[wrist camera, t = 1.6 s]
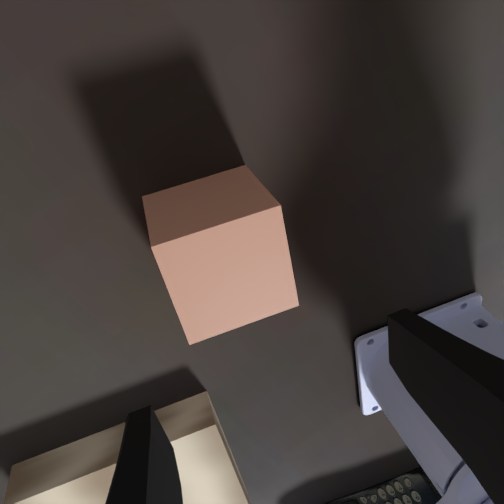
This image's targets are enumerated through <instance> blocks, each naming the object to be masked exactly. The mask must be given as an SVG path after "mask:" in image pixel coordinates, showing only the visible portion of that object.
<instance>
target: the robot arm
mask: <svg viewBox="0 0 504 504" xmlns="http://www.w3.org/2000/svg"><path fill="white" fill-rule="evenodd" d="M481 303H482V296H481V295H479V294H478V293H472V294H469V295H467V296H464V297H461V298H459V299H456V300H454V301H451V302H448V303H446V304H443V305H440V306H438V307H435V308H433V309H430V310H427V311H425V312H422V313H420V314H415V313H413V312H411V311H410V310H408V309H403V310H400V311H398V312H395V313H392V314H390V315H387V319H388V326H386V327H383V328H380V329H378V330H375V331H373V332H370V333H367V334H365V335H362V336H360V337H358V338H357V339H356V340H355V343H354V345H355V355H356V366H357V377H358V387H359V398H360V408H361V411H362V413H363V414H364V415H369V414H372V413H374V412H377V411H379V410H383V412H384V413H385V415H386V416H387V418H388V419H389V420H390V422H391V423H392V425H393V426H394V428H395V429H396V431H397V432H398V434H399V435H400V436H401V438H402V439H403V441H404V442H405V444H406V445H407V447H408V448H409V450H410V451H411V453H412V454H413V455H414V457H415V458H416V460H417V461H418V463H419V464H420V466H421V467H422V469H423V470H424V471H425V473H426V474H427V476H428V477H429V479H430V480H431V482H432V483H433V485H434V486H435V487H436V489H437V490H438V492H439V493H440V495H441V496H442V498H441V499H440V500H439V501H438V502H437V503H436V504H504V323H503V322H501V321H500V320H499V319H498V318H496V317H495V316H494V315H493V314H491V313H490V312H489V311H488V310H486V309H485V308H484V307H482V306H481ZM105 504H183V498H182V488H181V482H180V477H179V472H178V467H177V462H176V458H175V453H174V448H173V446H172V444H171V443H170V441H169V439H168V437H167V435H166V433H165V431H164V429H163V427H162V425H161V424H160V422H159V420H158V418H157V416H156V414H155V412H154V410H153V408H152V406H151V405H150V406H148V407H145V408H142V409H140V410H137V411H134V412H132V413H129V414H128V416H127V418H126V423H125V428H124V433H123V438H122V443H121V447H120V451H119V455H118V459H117V463H116V467H115V471H114V475H113V478H112V482H111V485H110V489H109V492H108V496H107V499H106V503H105Z"/></svg>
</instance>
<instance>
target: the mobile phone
mask: <svg viewBox="0 0 504 504" xmlns="http://www.w3.org/2000/svg"><path fill="white" fill-rule="evenodd" d="M441 498H442V496H441V495H440V493H439V492H438V490H437V489H436V487H435V486H434V485H433V483H432V482H431V480H430V479H429V477H428V476H427V474H426V473H425V471H424V470H423V469H422V468H419V469H415V470H413V471H411V472H408V473H406V474H403V475H401V476H398V477H396V478H393V479H391V480H388V481H386V482H383V483H380V484H378V485H375V486H373V487H370V488H368V489H365V490H362V491H360V492H357V493H354V494H351V495H348V496H345V497H342V498H339V499H336V500H334V501H332V502H330V503H328V504H436V503H437V502H438V501H439V500H440V499H441Z"/></svg>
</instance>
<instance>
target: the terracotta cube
mask: <svg viewBox="0 0 504 504" xmlns="http://www.w3.org/2000/svg"><path fill="white" fill-rule="evenodd" d="M142 200H143V205H144V211H145V216H146V222H147V228H148V233H149V239H150V244H151V248H152V251H153V253H154V256H155V258H156V261H157V264H158V266H159V269H160V271H161V274H162V276H163V279H164V281H165V284H166V286H167V289H168V291H169V294H170V296H171V299H172V302H173V304H174V307H175V309H176V312H177V314H178V317H179V319H180V322H181V324H182V327H183V329H184V332H185V335H186V337H187V340H188V342H189V345H191V344H194V343H196V342H199V341H202V340H205V339H208V338H210V337H213V336H216V335H219V334H221V333H224V332H227V331H230V330H232V329H235V328H238V327H241V326H244V325H246V324H249V323H252V322H255V321H257V320H260V319H263V318H266V317H268V316H271V315H274V314H277V313H279V312H282V311H285V310H288V309H291V308H293V307H296V306H299V303H298V297H297V292H296V286H295V281H294V275H293V270H292V264H291V259H290V253H289V248H288V242H287V237H286V231H285V226H284V220H283V215H282V209H281V205H280V204H279V203H278V201H277V200H276V199H275V198H274V197H273V196H272V195H271V193H270V192H269V191H268V190H267V189H266V188H265V187H264V186H263V184H262V183H261V182H260V181H259V180H258V179H257V178H256V176H255V175H254V174H253V173H252V172H251V171H250V170H249V169H248V167H247V166H246V165H243V166H240V167H237V168H233V169H230V170H227V171H224V172H220V173H217V174H214V175H211V176H207V177H204V178H201V179H198V180H194V181H191V182H188V183H184V184H181V185H178V186H175V187H171V188H168V189H165V190H162V191H158V192H155V193H152V194H149V195H145V196H142Z"/></svg>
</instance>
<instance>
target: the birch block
mask: <svg viewBox="0 0 504 504" xmlns="http://www.w3.org/2000/svg"><path fill="white" fill-rule="evenodd" d="M154 412H155V414H156V416H157V418H158V420H159V422H160V424H161V425H162V427H163V429H164V431H165V433H166V435H167V437H168V439H169V441H170V443H171V444H172V446H173V448H174V453H175V458H176V462H177V467H178V472H179V477H180V482H181V488H182V498H183V504H250V500H249V497H248V493H247V490H246V487H245V485H244V482H243V480H242V477H241V475H240V472H239V470H238V467H237V465H236V462H235V460H234V457H233V455H232V452H231V450H230V447H229V445H228V442H227V440H226V437H225V435H224V432H223V430H222V427H221V425H220V422H219V420H218V417H217V415H216V412H215V410H214V407H213V405H212V402H211V400H210V397H209V395H208V392H207V391H205V392H203V393H200V394H197V395H195V396H192V397H189V398H187V399H184V400H182V401H179V402H176V403H174V404H171V405H169V406H166V407H163V408H161V409H158V410H155V411H154ZM125 423H126V422H124V423H121V424H119V425H116V426H114V427H111V428H108V429H106V430H103V431H101V432H98V433H95V434H93V435H90V436H88V437H85V438H82V439H80V440H77V441H74V442H72V443H69V444H67V445H64V446H61V447H59V448H56V449H54V450H51V451H48V452H46V453H43V454H40V455H38V456H35V457H33V458H30V459H27V460H25V461H22V462H20V463H17V464H14V465H12V468H11V472H10V477H9V482H8V487H7V492H6V496H5V501H4V504H105V503H106V499H107V496H108V492H109V489H110V485H111V482H112V478H113V475H114V471H115V467H116V463H117V459H118V455H119V451H120V447H121V443H122V438H123V433H124V428H125Z"/></svg>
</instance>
